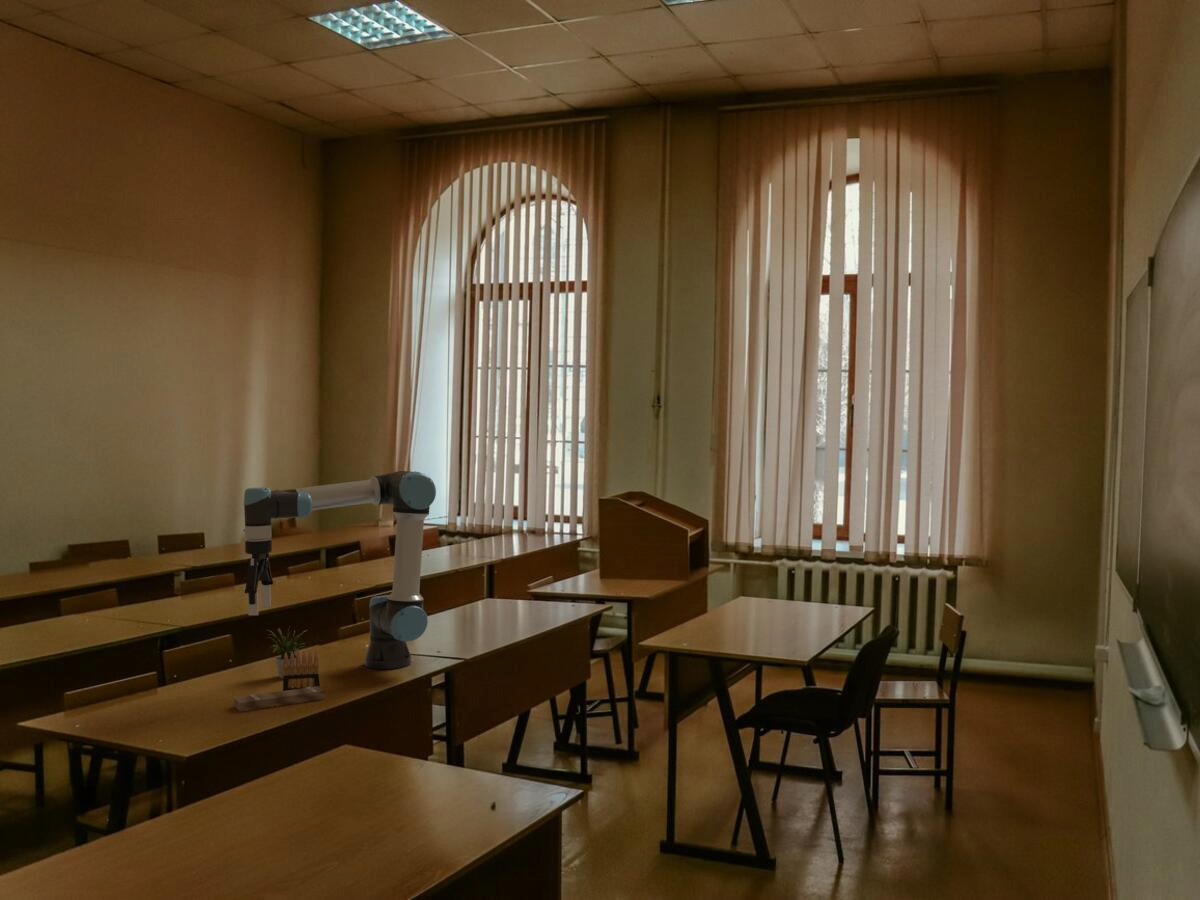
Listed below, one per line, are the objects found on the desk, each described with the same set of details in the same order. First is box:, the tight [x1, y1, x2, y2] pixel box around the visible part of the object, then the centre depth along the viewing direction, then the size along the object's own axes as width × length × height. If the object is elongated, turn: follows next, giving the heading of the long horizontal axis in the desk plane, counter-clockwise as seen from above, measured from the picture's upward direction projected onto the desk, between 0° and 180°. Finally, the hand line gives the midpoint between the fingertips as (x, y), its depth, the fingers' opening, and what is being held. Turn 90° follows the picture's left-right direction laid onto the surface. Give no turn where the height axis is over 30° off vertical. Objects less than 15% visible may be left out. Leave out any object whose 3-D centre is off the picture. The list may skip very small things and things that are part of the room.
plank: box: [233, 686, 326, 713], centre depth 295 cm, size 24×6×3 cm, turn 122°
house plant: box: [265, 626, 309, 679], centre depth 325 cm, size 14×14×16 cm
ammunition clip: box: [282, 650, 321, 691], centre depth 308 cm, size 11×2×12 cm, turn 103°
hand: (259, 611), depth 305 cm, fingers open, 13 cm apart
